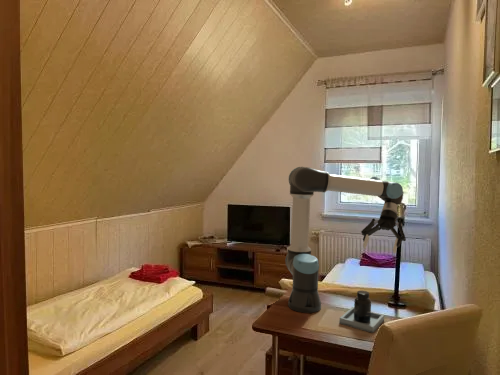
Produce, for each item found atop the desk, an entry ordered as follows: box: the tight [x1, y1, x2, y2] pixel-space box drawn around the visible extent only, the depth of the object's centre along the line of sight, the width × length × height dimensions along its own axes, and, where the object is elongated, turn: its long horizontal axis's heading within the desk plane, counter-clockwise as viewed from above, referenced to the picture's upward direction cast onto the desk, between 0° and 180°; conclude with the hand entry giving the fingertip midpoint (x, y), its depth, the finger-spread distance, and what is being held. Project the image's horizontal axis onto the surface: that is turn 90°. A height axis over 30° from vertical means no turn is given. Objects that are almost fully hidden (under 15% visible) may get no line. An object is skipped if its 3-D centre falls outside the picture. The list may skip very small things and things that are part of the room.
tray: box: [338, 306, 385, 334], centre depth 156 cm, size 14×15×2 cm
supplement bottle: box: [353, 290, 372, 323], centre depth 156 cm, size 7×7×12 cm
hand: (378, 249), depth 170 cm, fingers open, 13 cm apart
